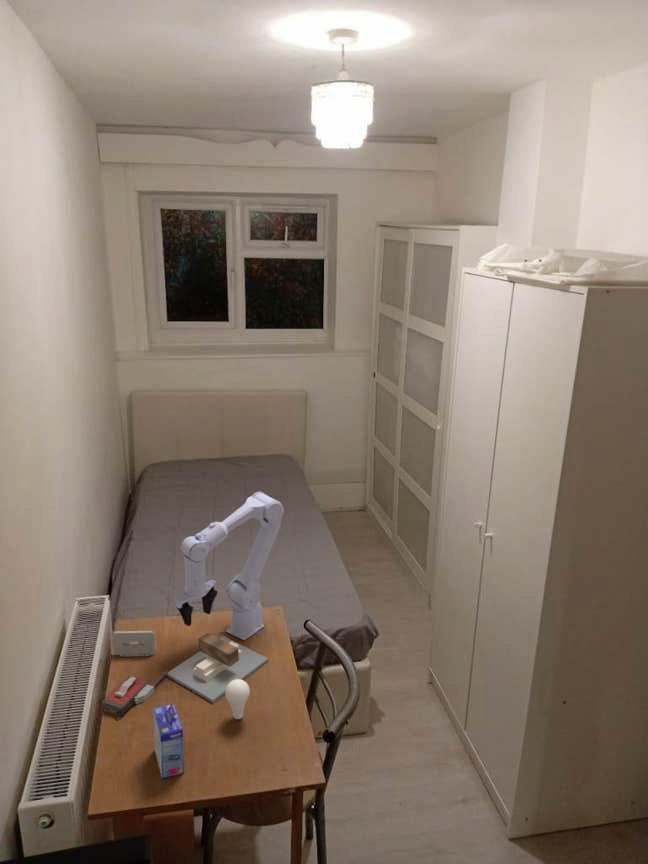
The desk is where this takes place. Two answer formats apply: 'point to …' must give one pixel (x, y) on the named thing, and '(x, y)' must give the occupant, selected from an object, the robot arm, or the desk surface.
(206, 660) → the ridge stand
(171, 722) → the ink cartridge box
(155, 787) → the desk surface
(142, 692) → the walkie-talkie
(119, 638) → the cassette
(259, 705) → the desk surface
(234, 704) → the lightbulb
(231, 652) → the walnut bar
